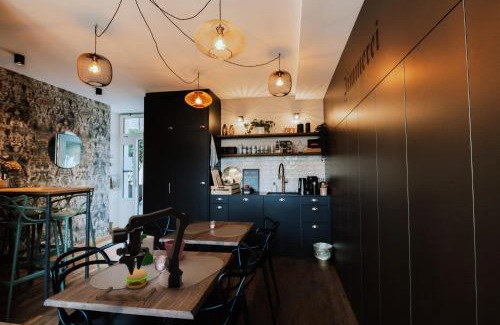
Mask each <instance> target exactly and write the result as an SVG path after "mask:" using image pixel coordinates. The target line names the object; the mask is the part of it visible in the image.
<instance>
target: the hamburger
mask: <svg viewBox="0 0 500 325" xmlns="http://www.w3.org/2000/svg"><path fill="white" fill-rule="evenodd" d="M149 276H150V275H149V274H148V271H146V269H144V268H140V270H137V268H135V269H134V272H133V275H130V273H129V272H128V273H127V275H126V277H125V278H124V280H125V281H126V287H127V288H129V289H132V290H133V289H140V288H142V287H145V285H147V283H148V281H147V278H149Z"/></svg>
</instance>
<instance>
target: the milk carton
mask: <svg viewBox="0 0 500 325" xmlns="http://www.w3.org/2000/svg"><path fill="white" fill-rule="evenodd" d="M154 241H155V236H153V235H147V234H146V233H143V234H142V233H141V242H143V244H141V247H148V248H149V253H147V255H146V257H145V259H144V261H143V263H142V265H141V266H144V267H145V265H146V266H148V265H151V264H153V263H154ZM144 254H146V253H145V252H144Z"/></svg>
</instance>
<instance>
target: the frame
mask: <svg viewBox="0 0 500 325" xmlns="http://www.w3.org/2000/svg"><path fill="white" fill-rule="evenodd" d="M113 290H114V286H109V287H108V288H105V289H104V290H103V291H102V292H100V293H99V294H98V295H96V296H95V300H98V301H99V300H101V301H136V302H140V301H144V302H146V301H147V300H149V298H150V297H151V296H152V295H153V294H154V293H155V292H156V291H157V287H152V288H151V289H150V290H149V291H148V292H147V293H145V295H144V296H143V297H142V294H133V293H132V294H131V293H129V294H128V293H127V294H126V293H110V292H112V291H113Z"/></svg>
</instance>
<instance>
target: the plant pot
mask: <svg viewBox="0 0 500 325" xmlns="http://www.w3.org/2000/svg"><path fill="white" fill-rule="evenodd" d="M173 242H174V239H169V240H165V242H164V249H165V251H166V254H167V257H168V258H169V256H170V254H171V250H172V246H173ZM185 245H186V240H184V239H183V240H182V244H181V249H180V253H179V261H181V260H182V258H183V252H184V247H185Z"/></svg>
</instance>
